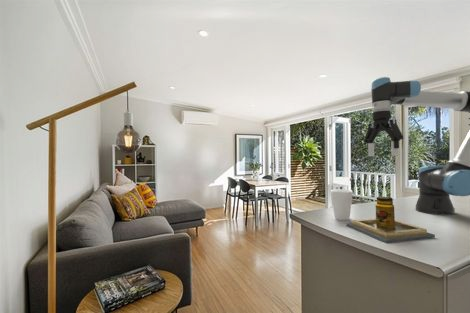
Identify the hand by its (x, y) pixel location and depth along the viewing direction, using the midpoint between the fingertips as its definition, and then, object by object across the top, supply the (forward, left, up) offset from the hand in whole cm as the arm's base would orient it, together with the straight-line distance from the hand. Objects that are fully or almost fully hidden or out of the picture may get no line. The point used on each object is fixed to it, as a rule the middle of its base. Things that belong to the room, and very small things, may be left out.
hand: (382, 156), depth 110 cm
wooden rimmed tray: (+16, +18, -29) cm, 37 cm away
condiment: (+16, +17, -28) cm, 37 cm away
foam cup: (+20, -3, -29) cm, 35 cm away
